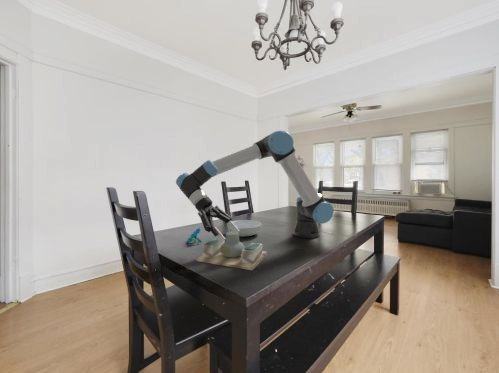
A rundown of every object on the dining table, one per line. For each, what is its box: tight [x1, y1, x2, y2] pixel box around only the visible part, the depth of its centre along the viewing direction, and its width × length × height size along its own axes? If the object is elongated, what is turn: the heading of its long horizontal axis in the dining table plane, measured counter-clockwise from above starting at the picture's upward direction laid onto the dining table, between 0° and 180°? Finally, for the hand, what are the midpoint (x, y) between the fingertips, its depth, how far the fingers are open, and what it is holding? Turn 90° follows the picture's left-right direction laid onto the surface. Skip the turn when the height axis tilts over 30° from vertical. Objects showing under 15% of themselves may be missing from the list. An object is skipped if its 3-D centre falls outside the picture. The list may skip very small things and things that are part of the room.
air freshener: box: [220, 231, 246, 258], centre depth 102 cm, size 11×8×10 cm
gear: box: [186, 227, 202, 245], centre depth 126 cm, size 11×6×10 cm
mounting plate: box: [195, 237, 268, 271], centre depth 102 cm, size 26×18×6 cm
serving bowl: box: [226, 219, 262, 238], centre depth 140 cm, size 21×21×7 cm
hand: (230, 236), depth 102 cm, fingers open, 13 cm apart
